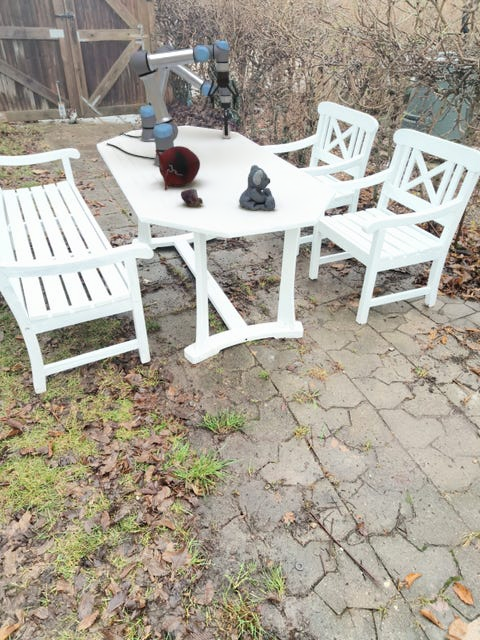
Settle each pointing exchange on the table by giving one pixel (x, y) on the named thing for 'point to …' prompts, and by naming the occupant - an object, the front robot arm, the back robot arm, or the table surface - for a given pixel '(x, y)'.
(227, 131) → the back robot arm
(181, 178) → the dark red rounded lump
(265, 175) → the koala plush
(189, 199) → the rock
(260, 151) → the table surface
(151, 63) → the front robot arm
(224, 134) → the canister
